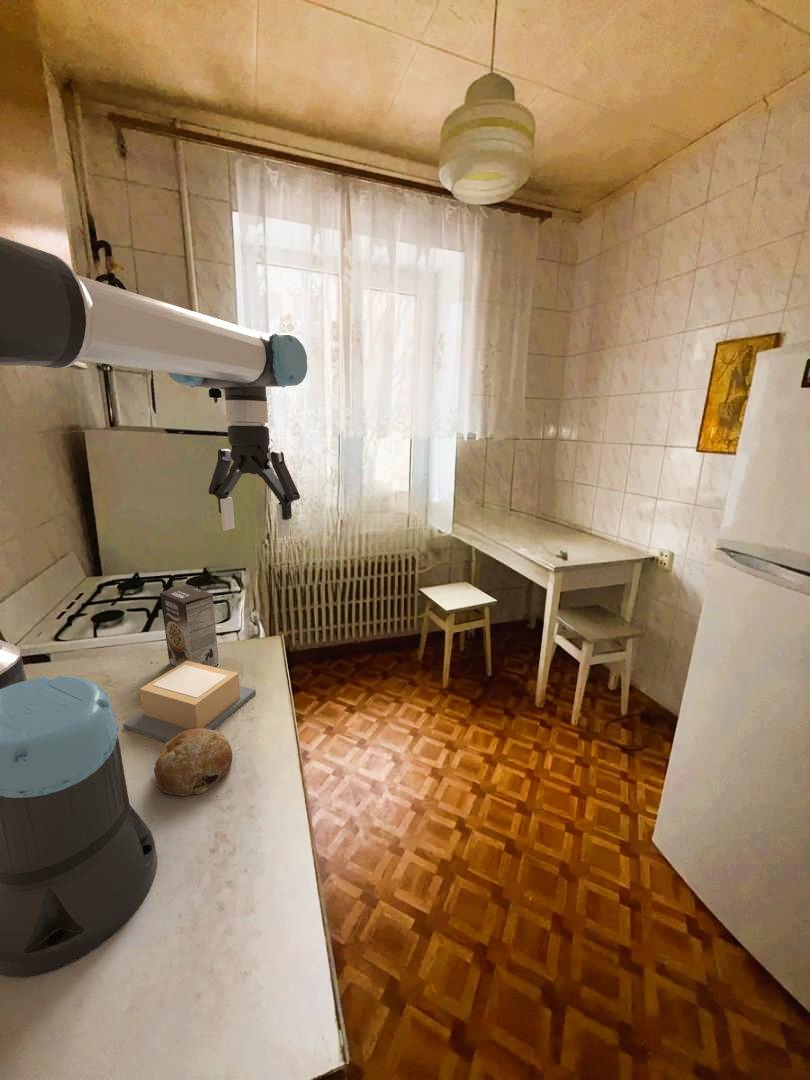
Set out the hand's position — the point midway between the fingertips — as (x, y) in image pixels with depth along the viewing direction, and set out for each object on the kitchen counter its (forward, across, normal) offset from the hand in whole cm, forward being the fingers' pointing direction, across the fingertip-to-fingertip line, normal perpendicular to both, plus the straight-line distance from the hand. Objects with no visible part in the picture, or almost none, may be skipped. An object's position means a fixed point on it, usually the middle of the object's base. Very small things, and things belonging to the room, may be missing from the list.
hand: (255, 532), depth 90 cm
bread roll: (+28, -11, +31) cm, 44 cm away
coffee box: (+28, +12, +8) cm, 32 cm away
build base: (+28, 0, +20) cm, 35 cm away
